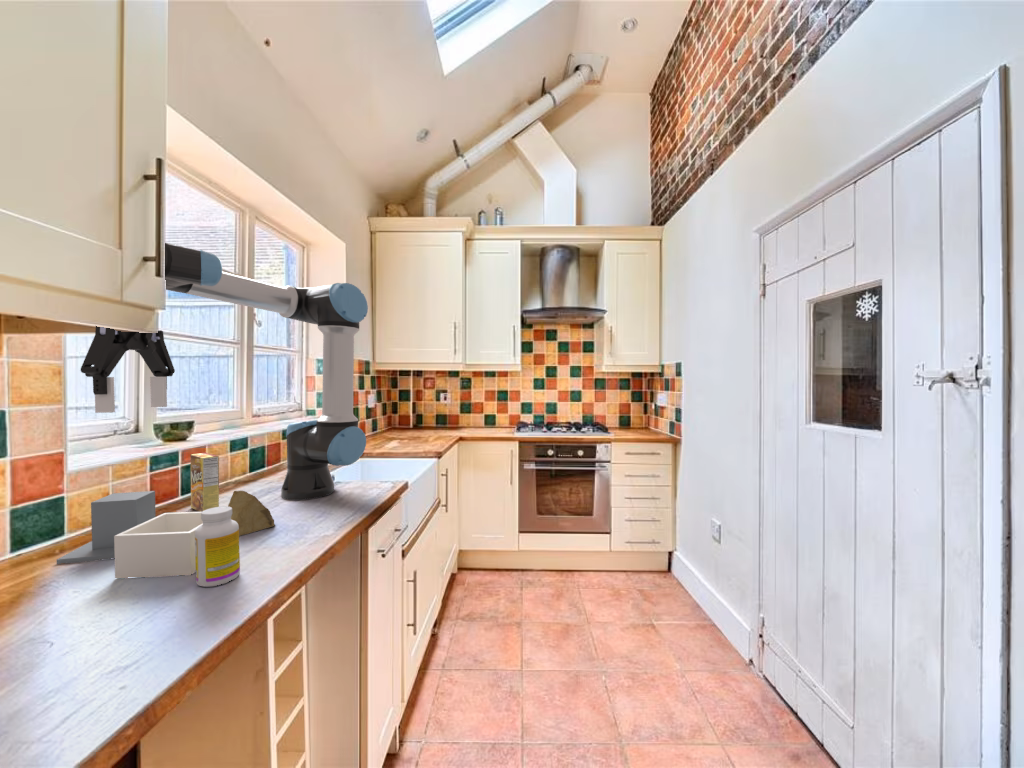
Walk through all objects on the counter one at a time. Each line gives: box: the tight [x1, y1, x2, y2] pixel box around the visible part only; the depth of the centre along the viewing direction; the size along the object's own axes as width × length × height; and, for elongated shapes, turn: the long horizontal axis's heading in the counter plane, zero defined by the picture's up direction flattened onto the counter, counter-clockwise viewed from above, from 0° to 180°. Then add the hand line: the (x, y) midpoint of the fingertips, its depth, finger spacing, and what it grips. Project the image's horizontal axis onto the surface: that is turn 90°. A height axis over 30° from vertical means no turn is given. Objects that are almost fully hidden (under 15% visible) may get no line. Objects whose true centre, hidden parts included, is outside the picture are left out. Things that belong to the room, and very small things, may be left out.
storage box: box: [114, 511, 203, 579], centre depth 85 cm, size 13×13×8 cm
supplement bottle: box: [195, 506, 241, 588], centre depth 77 cm, size 7×7×13 cm
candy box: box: [190, 452, 220, 512], centre depth 118 cm, size 9×4×15 cm, turn 55°
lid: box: [56, 490, 157, 565], centre depth 93 cm, size 15×15×11 cm
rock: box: [228, 490, 276, 537], centre depth 101 cm, size 11×9×10 cm
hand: (134, 409), depth 84 cm, fingers open, 13 cm apart
